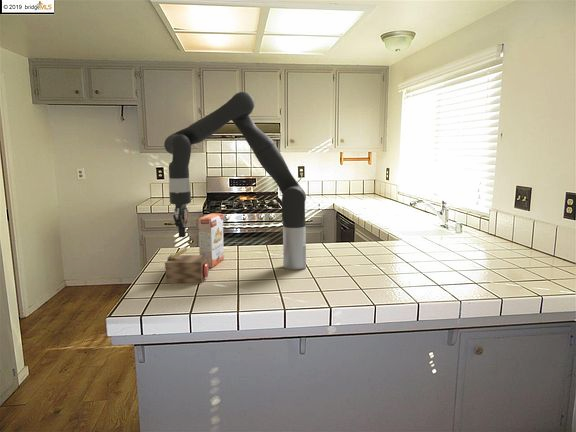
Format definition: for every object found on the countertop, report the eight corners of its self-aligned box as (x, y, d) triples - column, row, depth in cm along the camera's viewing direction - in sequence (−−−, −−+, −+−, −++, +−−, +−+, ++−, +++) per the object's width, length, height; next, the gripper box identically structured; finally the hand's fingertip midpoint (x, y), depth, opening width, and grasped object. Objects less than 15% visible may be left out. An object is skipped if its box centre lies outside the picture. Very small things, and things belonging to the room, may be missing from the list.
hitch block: (206, 275, 159) (206, 255, 158) (201, 283, 149) (200, 262, 148) (173, 275, 159) (172, 255, 158) (166, 283, 149) (164, 262, 148)
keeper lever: (187, 249, 154) (185, 246, 154) (185, 252, 150) (183, 249, 150) (171, 258, 155) (169, 255, 155) (168, 261, 151) (166, 258, 151)
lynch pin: (208, 274, 157) (208, 261, 156) (206, 279, 152) (205, 265, 151) (169, 275, 157) (168, 262, 156) (165, 279, 151) (164, 266, 151)
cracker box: (213, 268, 168) (211, 218, 164) (199, 267, 169) (197, 218, 165) (225, 259, 181) (223, 213, 178) (212, 258, 182) (210, 212, 179)
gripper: (174, 188, 155) (176, 233, 158) (164, 192, 142) (167, 241, 145) (194, 188, 155) (196, 233, 158) (185, 192, 142) (188, 240, 145)
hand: (182, 236), depth 151 cm, fingers closed
